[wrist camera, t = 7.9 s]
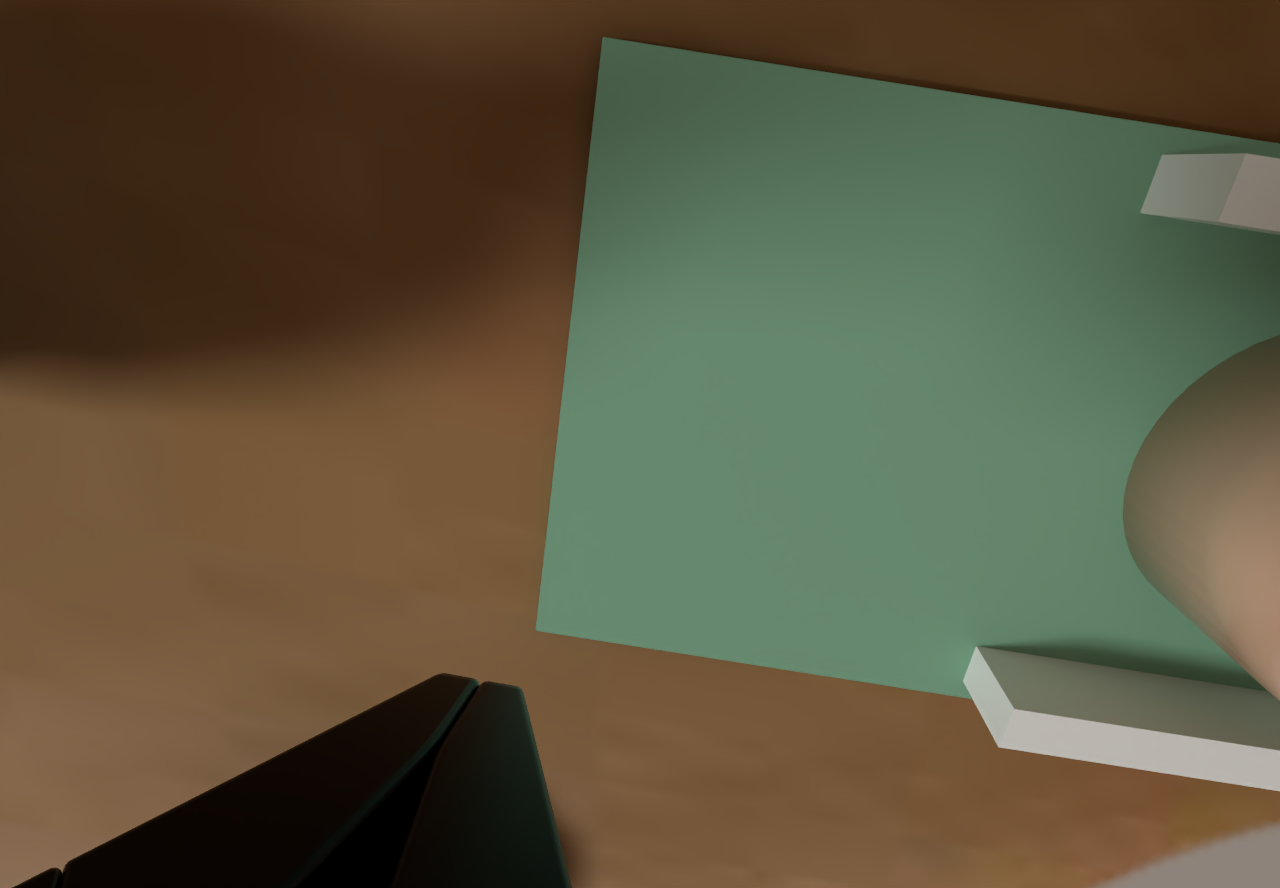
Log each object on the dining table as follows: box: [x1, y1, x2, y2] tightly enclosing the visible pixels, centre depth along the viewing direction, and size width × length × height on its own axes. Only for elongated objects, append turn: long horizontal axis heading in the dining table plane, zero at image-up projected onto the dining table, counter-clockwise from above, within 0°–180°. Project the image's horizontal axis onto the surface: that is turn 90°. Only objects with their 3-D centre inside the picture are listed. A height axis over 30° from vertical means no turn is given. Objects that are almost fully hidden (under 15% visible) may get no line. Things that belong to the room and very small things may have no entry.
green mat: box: [536, 37, 1280, 699], centre depth 18 cm, size 25×15×1 cm, turn 82°
